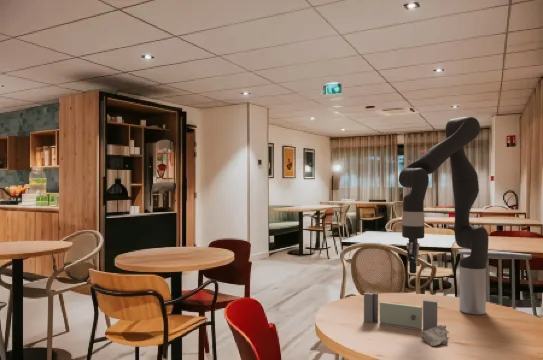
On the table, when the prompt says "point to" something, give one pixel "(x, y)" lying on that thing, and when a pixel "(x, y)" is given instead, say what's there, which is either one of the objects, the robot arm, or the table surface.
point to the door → (401, 314)
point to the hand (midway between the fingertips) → (412, 272)
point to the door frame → (428, 323)
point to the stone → (435, 335)
